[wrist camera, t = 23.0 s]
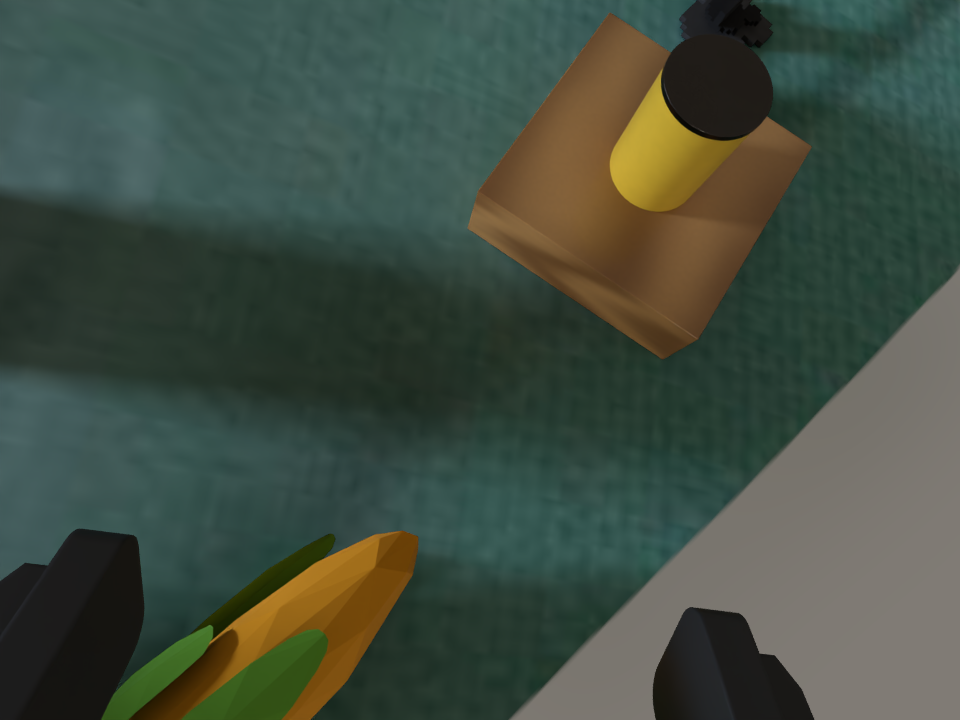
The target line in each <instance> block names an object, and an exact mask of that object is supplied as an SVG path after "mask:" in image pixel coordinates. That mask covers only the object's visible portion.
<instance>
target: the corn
mask: <svg viewBox="0 0 960 720" xmlns="http://www.w3.org/2000/svg"><path fill="white" fill-rule="evenodd" d="M334 542H335V537H334V535H333V534H328V535H326V536H324V537H322V538H320V539H318V540H316V541H314V542H312V543H311V544H309V545H307V546H305V547H303V548H302V549H300V550H298V551H297V552H295V553H294V554H292V555H290V556H289V557H287V558H286V559H284V560H282V561H281V562H279V563H277V564H276V565H274V566H273V567H271V568H269V569H268V570H266V571H265V572H264V573H263V574H261V575H260V576H259V577H258V578H256V579H255V580H254V581H253V582H252V583H250V584H249V585H248V586H247V587H245V588H244V589H243V590H242V591H240V592H239V593H238V594H237V595H235V596H234V597H233V598H232V599H231V600H229V601H228V602H227V603H226V604H224V605H223V606H222V607H221V608H219V609H218V610H217V611H216V612H215V613H213V614H212V615H211V616H210V617H208V618H207V619H206V620H205V621H204V622H203V623H202V624H200V625H199V626H198V627H197V628H196V629H195V630H194V631H193V632H192V633H191V634H190V635H189V636H187V637H185V638H183V639H181V640H179V641H177V642H176V643H174V644H173V645H172V646H170V647H169V648H168V649H166V650H165V651H164V652H162V653H161V654H160V655H158V656H157V657H156V658H154V659H153V660H152V661H150V662H149V663H147V664H146V665H145V666H143V667H142V668H141V669H139V670H138V671H137V672H135V673H134V674H133V675H132V676H131V677H130V678H129V679H128V680H127V681H126V682H125V683H124V684H123V685H122V686H121V687H120V688H119V689H118V690H117V691H116V692H115V693H114V694H113V696H112V698H111V700H110V702H109V704H108V706H107V708H106V711H105V713H104V715H103V717H102V719H101V720H311V718H312V717H313V716H314V715H315V714H316V713H317V712H318V711H319V710H320V709H321V708H322V707H323V706H324V705H325V704H326V703H327V702H328V701H329V699H330V698H331V697H332V696H333V695H334V694H335V693H336V692H337V691H338V690H339V689H340V688H341V687H342V686H343V685H344V684H345V683H346V682H347V680H348V679H349V677H350V675H351V674H352V672H353V670H354V669H355V667H356V666H357V664H358V662H359V661H360V659H361V658H362V656H363V654H364V653H365V651H366V649H367V648H368V646H369V645H370V643H371V641H372V640H373V638H374V636H375V635H376V633H377V632H378V630H379V628H380V627H381V625H382V624H383V622H384V620H385V619H386V617H387V615H388V614H389V612H390V611H391V609H392V607H393V606H394V604H395V602H396V601H397V599H398V598H399V596H400V594H401V593H402V591H403V590H404V588H405V586H406V585H407V583H408V581H409V580H410V578H411V577H412V575H413V571H414V566H415V561H416V556H417V551H418V536H415V535H413V534H410V533H407V532H405V531H397V532H390V533H383V534H376V535H373V536H371V537H369V538H367V539H364V540H362V541H360V542H358V543H356V544H354V545H352V546H350V547H348V548H346V549H343V550H341V551H339V552H337V553H335V554H333V555H331V556H329V557H327V558H325V559H323V558H324V557H325V556H326V555H327V553H328V552H329V551H330V550H331V549H332V547H333V544H334Z"/></svg>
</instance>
